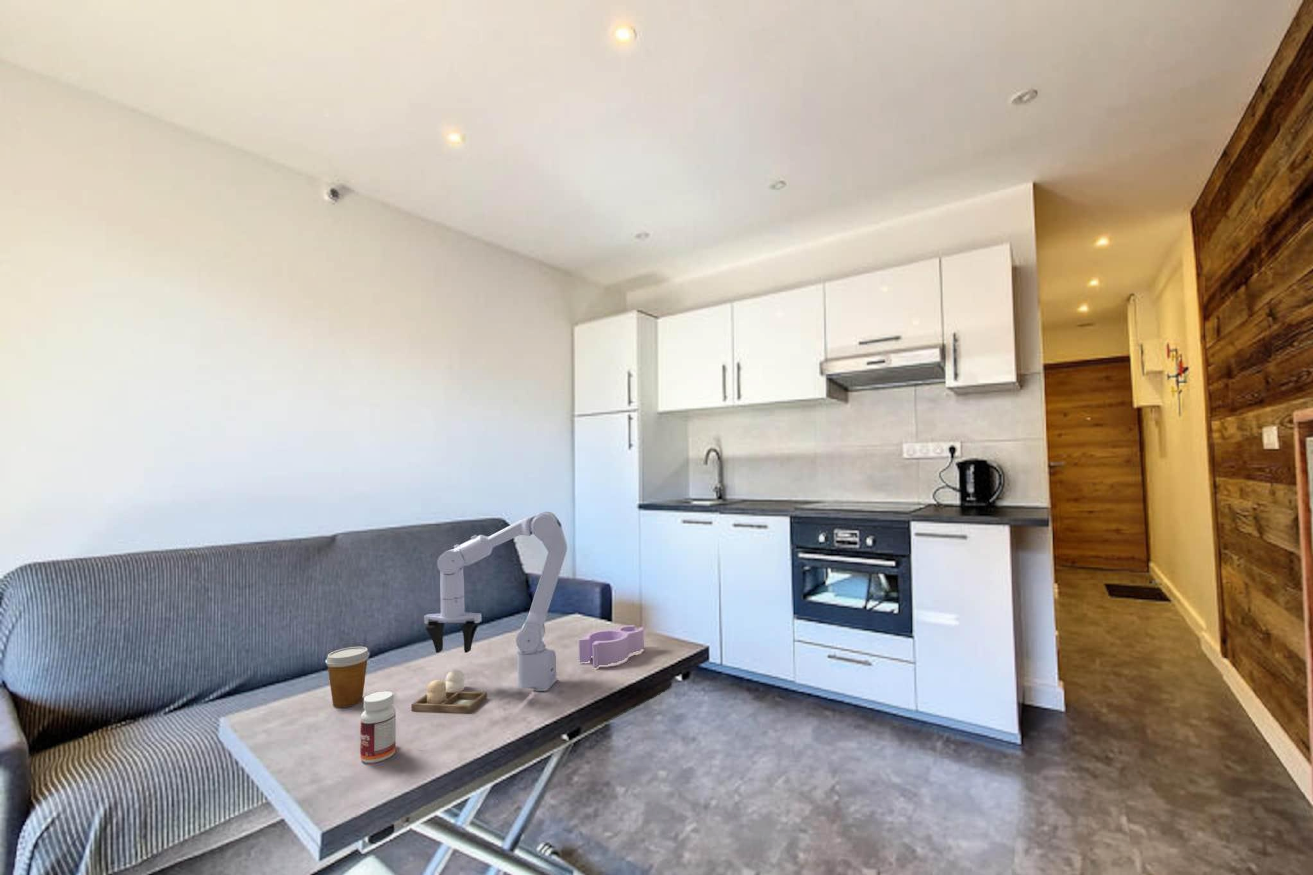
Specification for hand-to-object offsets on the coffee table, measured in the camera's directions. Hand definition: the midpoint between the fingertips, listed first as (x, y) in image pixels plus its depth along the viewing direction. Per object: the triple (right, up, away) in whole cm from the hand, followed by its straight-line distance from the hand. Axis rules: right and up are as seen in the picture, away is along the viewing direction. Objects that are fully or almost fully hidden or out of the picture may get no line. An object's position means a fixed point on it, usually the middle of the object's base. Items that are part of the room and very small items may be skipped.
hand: (453, 651), depth 138 cm
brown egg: (0, -8, -10) cm, 13 cm away
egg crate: (+3, -9, -11) cm, 14 cm away
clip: (+39, -10, +20) cm, 45 cm away
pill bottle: (-3, -8, -32) cm, 33 cm away
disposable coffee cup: (-24, -11, -5) cm, 27 cm away
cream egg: (+1, -10, -1) cm, 10 cm away
